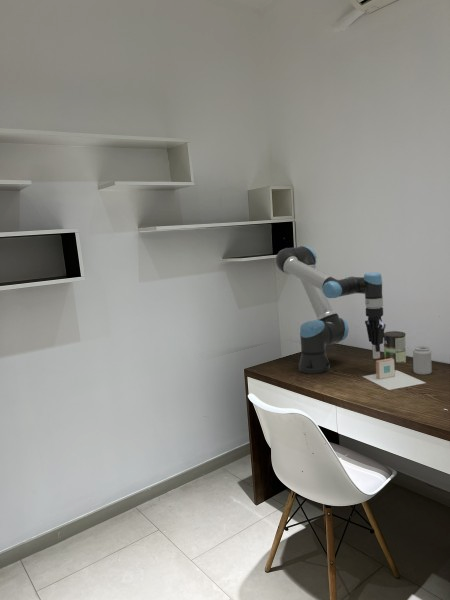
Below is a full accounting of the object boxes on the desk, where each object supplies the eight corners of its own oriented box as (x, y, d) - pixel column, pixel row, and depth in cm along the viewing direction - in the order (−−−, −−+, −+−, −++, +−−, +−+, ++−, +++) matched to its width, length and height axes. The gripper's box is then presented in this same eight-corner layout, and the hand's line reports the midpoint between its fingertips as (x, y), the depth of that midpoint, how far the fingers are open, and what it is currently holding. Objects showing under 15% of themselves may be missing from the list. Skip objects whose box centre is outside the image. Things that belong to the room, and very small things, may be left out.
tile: (376, 378, 204) (375, 360, 203) (392, 375, 206) (391, 358, 205) (379, 379, 202) (378, 361, 201) (395, 376, 204) (394, 359, 203)
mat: (362, 377, 208) (362, 376, 208) (396, 371, 213) (396, 370, 213) (389, 391, 189) (388, 389, 189) (426, 384, 194) (426, 382, 194)
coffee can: (384, 364, 225) (383, 336, 223) (383, 358, 235) (382, 331, 233) (407, 364, 222) (406, 335, 220) (405, 358, 232) (404, 330, 230)
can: (434, 372, 208) (433, 346, 206) (428, 377, 202) (427, 350, 200) (417, 369, 213) (416, 344, 211) (410, 374, 207) (410, 348, 206)
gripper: (358, 306, 212) (361, 356, 215) (375, 310, 200) (377, 362, 203) (373, 304, 214) (375, 353, 217) (390, 308, 201) (392, 360, 205)
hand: (376, 358), depth 210 cm, fingers closed
